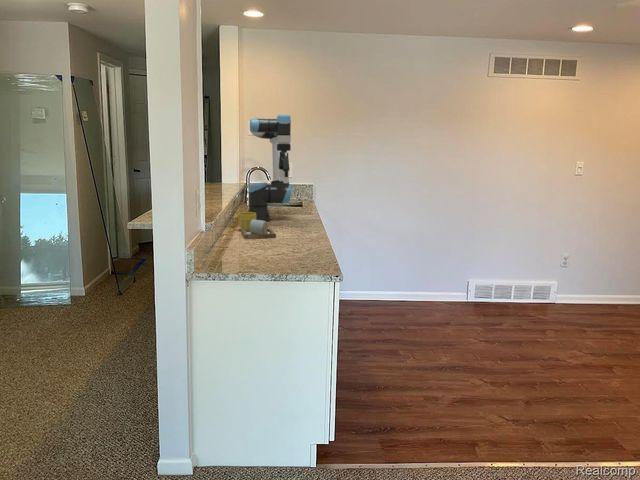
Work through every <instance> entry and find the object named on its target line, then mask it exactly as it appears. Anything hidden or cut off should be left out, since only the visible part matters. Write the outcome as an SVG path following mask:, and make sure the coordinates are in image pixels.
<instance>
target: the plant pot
mask: <svg viewBox="0 0 640 480" xmlns="http://www.w3.org/2000/svg"><path fill="white" fill-rule="evenodd" d="M252 219H255V220H256V213H253V212H248V211H243V212H238V213H237V220H238V222H239V228H240V231H241V232H242V230H245V229H250V222H251V220H252Z"/></svg>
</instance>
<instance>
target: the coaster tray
mask: <svg viewBox="0 0 640 480" xmlns="http://www.w3.org/2000/svg"><path fill="white" fill-rule="evenodd" d="M241 235H242V236H243V239H244V240H257V239H258V240H259V239H260V240H262V239H263V240H264V239H276V238H277V234H276V232H275V231H274V230H273V229H272V228H268V231H267V233H266V234H251V233H250V229H245V230H242V231H241Z"/></svg>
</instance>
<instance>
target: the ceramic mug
mask: <svg viewBox="0 0 640 480" xmlns="http://www.w3.org/2000/svg"><path fill="white" fill-rule="evenodd" d="M268 229H269V223H268V221H262V220H255V219H252V220H251V222H250V233H251V234H266V233H267V231H268Z"/></svg>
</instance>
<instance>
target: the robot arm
mask: <svg viewBox="0 0 640 480" xmlns="http://www.w3.org/2000/svg"><path fill="white" fill-rule="evenodd" d="M291 122H292V119H291V115H290V114H278V115H277V116H276V118H250V119H249V131H250V133H251V134H252V135H253V137H257V138H260V139H265V140H269V143H270V144H271V151H272V152H271V153H272V154H271V155H272V180H271V181H270V184H268V182H266V181H265V182H263V181H262V182H256V183H251V184H250V185H248V191H247V192H248V210H247V212H253V213H256V220H262V221H266V222H269V221H271V214H270V210H269V208H268V207H269V205H268V204H288V203H290V201H291V196H292V189H293V188H292V187H293V185H292V184H290V180H289V176H290V175H289V171H290V160H289V152H290V151H291V143H292V142H291V141H292V135H291V131H292V130H291V128H292V127H291V126H292V125H291Z"/></svg>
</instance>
